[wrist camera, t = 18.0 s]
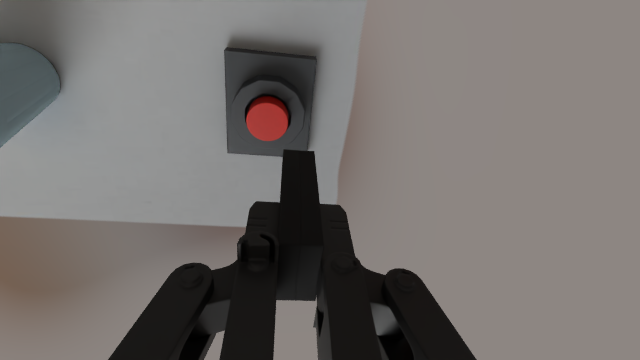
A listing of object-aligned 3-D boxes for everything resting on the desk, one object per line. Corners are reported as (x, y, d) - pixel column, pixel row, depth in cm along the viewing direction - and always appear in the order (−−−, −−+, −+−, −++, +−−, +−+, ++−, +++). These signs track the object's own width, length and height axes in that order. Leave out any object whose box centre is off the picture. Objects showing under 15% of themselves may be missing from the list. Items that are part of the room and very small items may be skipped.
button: (286, 134, 32) (286, 142, 31) (248, 131, 32) (246, 139, 30) (289, 97, 30) (289, 104, 29) (248, 94, 30) (246, 100, 28)
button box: (305, 153, 36) (306, 167, 34) (229, 147, 35) (224, 161, 33) (316, 56, 31) (318, 64, 29) (226, 47, 30) (220, 54, 28)
